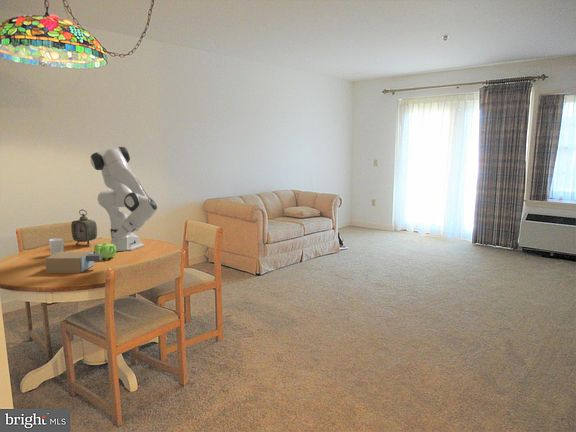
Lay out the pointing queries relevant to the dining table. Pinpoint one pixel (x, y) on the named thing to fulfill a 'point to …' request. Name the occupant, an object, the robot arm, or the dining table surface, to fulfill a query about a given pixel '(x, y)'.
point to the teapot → (105, 250)
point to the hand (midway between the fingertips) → (116, 241)
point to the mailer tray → (86, 264)
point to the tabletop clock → (84, 229)
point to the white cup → (56, 245)
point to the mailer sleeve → (64, 262)
